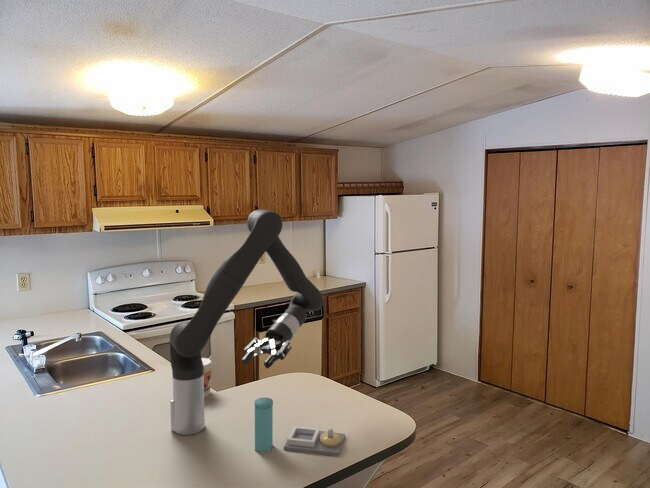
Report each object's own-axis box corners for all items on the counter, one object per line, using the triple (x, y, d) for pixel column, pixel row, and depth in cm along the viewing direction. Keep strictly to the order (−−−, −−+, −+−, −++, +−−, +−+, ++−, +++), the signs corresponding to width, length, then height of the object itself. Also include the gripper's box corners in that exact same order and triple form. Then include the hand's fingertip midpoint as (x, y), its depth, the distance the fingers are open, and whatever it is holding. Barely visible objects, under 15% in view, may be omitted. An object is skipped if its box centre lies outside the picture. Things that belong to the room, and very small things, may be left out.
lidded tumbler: (252, 451, 142) (252, 404, 140) (258, 442, 147) (257, 396, 145) (269, 453, 141) (269, 406, 139) (275, 444, 146) (275, 398, 144)
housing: (283, 449, 142) (284, 435, 142) (293, 431, 153) (293, 417, 153) (339, 456, 140) (339, 441, 139) (345, 436, 150) (345, 422, 150)
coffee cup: (193, 402, 173) (192, 368, 171) (181, 393, 180) (180, 361, 178) (217, 394, 179) (216, 362, 177) (204, 386, 186) (204, 355, 184)
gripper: (261, 320, 160) (231, 352, 148) (297, 322, 153) (269, 356, 141) (269, 338, 163) (240, 372, 151) (305, 341, 156) (277, 377, 143)
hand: (254, 364), depth 146 cm, fingers open, 8 cm apart
